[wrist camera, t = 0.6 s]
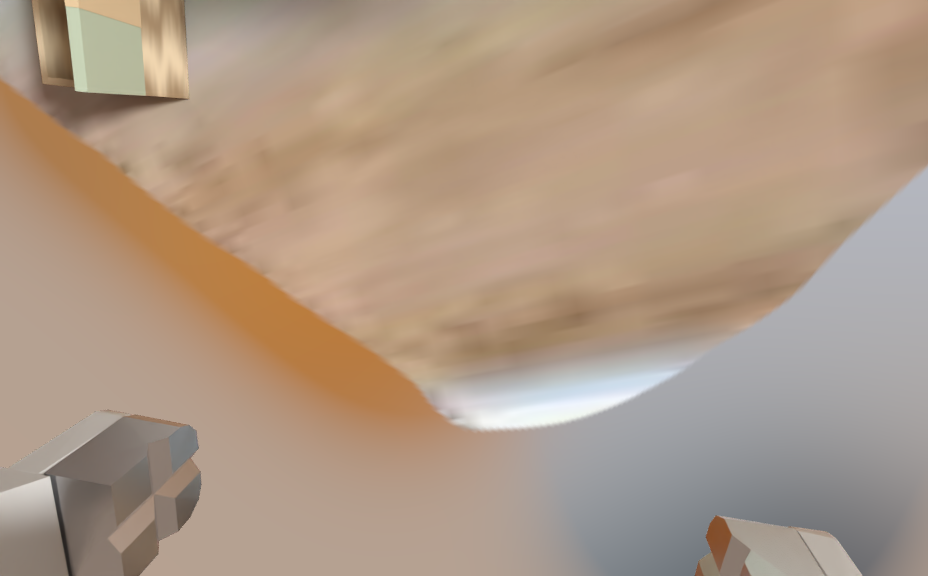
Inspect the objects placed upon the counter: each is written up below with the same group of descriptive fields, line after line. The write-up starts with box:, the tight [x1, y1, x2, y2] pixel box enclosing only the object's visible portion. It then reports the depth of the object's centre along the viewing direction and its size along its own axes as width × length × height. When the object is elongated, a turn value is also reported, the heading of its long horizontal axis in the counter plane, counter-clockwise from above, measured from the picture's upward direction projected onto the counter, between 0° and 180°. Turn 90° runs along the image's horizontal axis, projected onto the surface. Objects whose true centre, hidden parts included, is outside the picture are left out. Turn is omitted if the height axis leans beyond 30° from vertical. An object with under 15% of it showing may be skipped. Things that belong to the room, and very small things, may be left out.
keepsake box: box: [32, 0, 189, 99], centre depth 47 cm, size 13×9×7 cm
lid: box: [65, 0, 146, 96], centre depth 39 cm, size 13×9×1 cm
